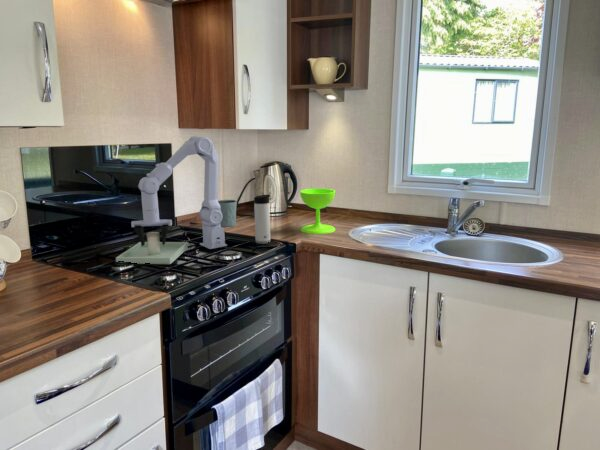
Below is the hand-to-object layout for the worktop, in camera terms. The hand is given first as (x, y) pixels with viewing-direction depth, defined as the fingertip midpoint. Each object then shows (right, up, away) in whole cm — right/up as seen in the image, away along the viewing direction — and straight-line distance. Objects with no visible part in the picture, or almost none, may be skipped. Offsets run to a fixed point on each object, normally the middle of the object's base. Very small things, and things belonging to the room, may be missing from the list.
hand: (153, 244), depth 182 cm
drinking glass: (+21, +7, +49) cm, 54 cm away
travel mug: (+40, 0, +18) cm, 44 cm away
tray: (0, -4, +1) cm, 4 cm away
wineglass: (+64, +5, +38) cm, 75 cm away
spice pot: (0, -4, +1) cm, 4 cm away
